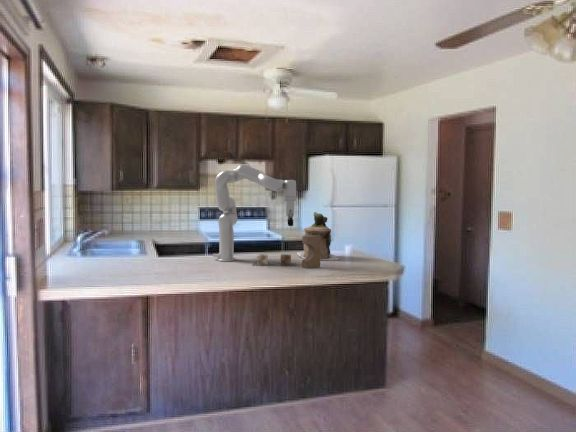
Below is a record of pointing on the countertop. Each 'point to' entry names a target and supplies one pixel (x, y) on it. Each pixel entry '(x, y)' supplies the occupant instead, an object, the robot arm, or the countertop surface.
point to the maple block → (262, 259)
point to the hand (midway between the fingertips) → (290, 225)
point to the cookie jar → (324, 232)
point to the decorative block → (312, 251)
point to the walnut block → (286, 259)
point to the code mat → (274, 264)
